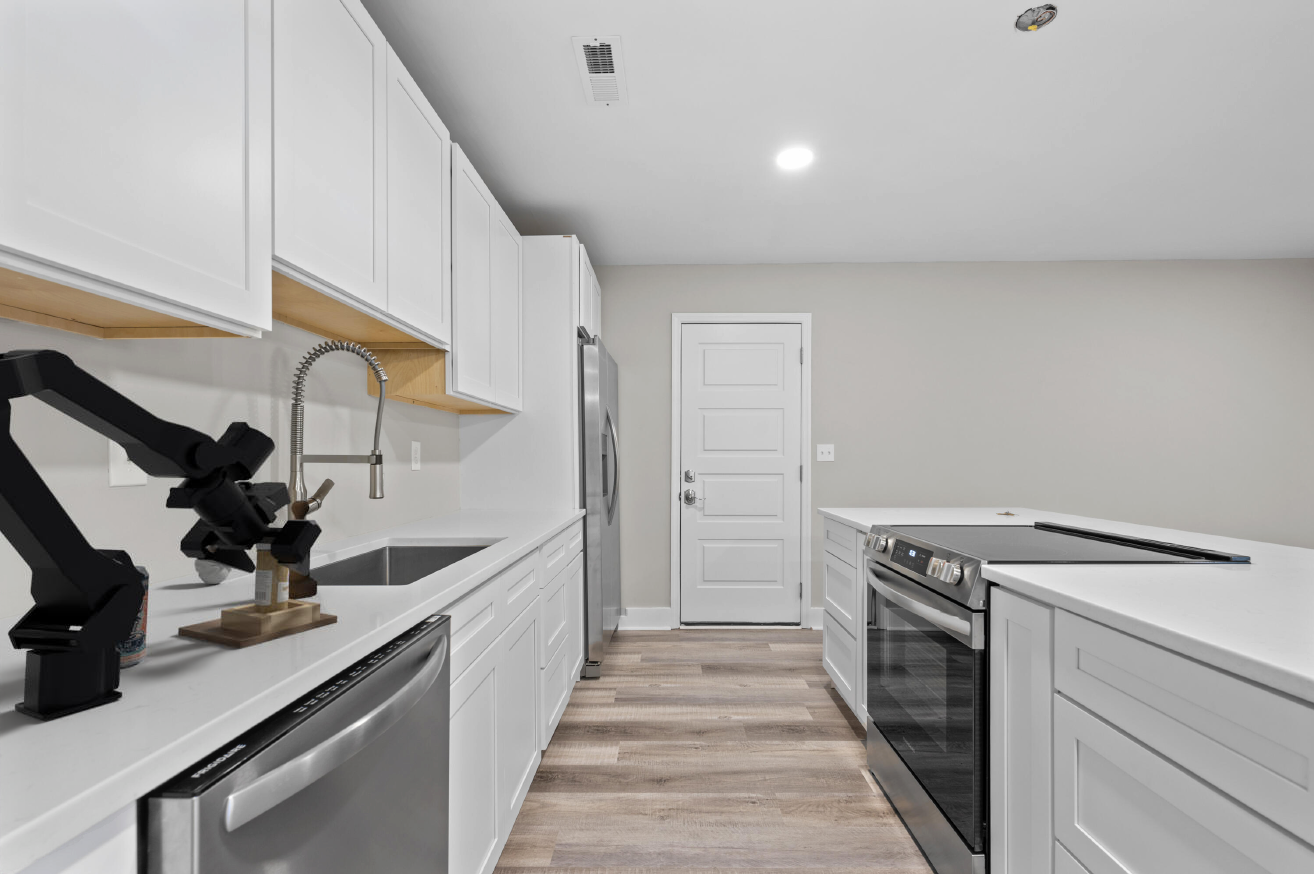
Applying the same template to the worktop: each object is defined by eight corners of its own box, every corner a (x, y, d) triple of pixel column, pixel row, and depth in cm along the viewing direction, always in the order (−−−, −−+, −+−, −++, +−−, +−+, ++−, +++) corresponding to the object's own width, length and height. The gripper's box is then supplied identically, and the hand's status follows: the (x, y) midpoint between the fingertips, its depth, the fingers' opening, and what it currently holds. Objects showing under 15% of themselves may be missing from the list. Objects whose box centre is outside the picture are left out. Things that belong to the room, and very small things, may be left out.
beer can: (109, 673, 73) (114, 573, 74) (85, 667, 75) (90, 570, 75) (154, 660, 78) (158, 567, 78) (130, 656, 79) (134, 564, 80)
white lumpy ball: (215, 579, 127) (216, 546, 128) (240, 582, 125) (241, 548, 126) (185, 585, 122) (186, 550, 122) (211, 588, 120) (212, 552, 120)
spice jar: (293, 623, 92) (296, 534, 93) (259, 629, 89) (262, 537, 89) (281, 618, 95) (284, 532, 95) (247, 624, 91) (251, 534, 92)
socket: (240, 648, 83) (241, 622, 83) (178, 634, 89) (179, 610, 89) (337, 622, 97) (337, 600, 97) (277, 611, 103) (278, 590, 103)
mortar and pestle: (270, 599, 111) (274, 501, 111) (283, 592, 117) (287, 499, 118) (310, 598, 112) (314, 501, 113) (321, 590, 119) (324, 499, 119)
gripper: (315, 465, 88) (360, 532, 98) (201, 462, 90) (256, 528, 101) (271, 525, 80) (325, 591, 90) (147, 521, 82) (213, 586, 93)
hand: (280, 571), depth 94 cm, fingers open, 9 cm apart
